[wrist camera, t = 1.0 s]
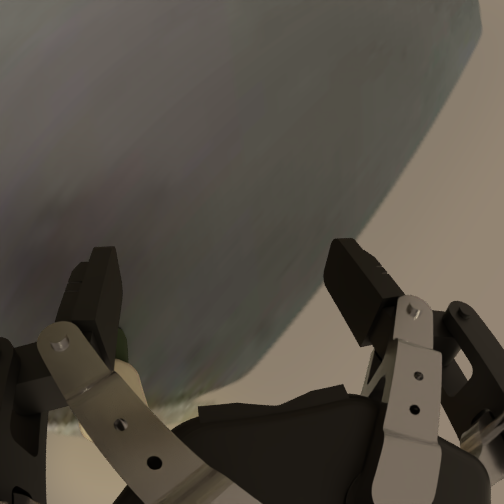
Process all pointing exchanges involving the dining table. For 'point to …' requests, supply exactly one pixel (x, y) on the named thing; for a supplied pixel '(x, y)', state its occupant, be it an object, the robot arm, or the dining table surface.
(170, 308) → the dining table surface
